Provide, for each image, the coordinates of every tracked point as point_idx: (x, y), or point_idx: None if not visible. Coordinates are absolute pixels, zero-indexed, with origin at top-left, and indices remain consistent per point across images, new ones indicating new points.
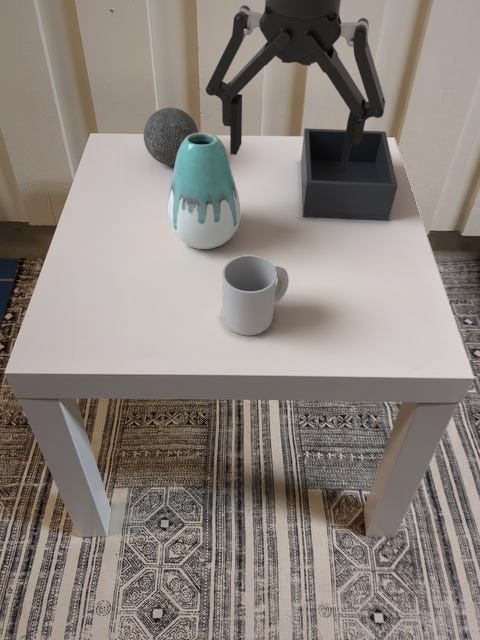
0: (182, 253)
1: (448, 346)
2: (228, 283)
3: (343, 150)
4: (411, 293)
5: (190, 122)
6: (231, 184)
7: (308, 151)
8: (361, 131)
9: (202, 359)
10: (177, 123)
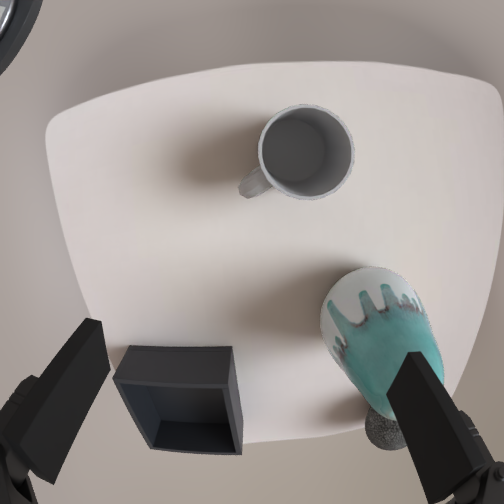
0: (386, 262)
1: (54, 154)
2: (341, 124)
3: (68, 363)
4: (88, 229)
5: (379, 440)
6: (350, 352)
7: (232, 429)
8: (8, 405)
9: (342, 78)
10: (396, 434)
